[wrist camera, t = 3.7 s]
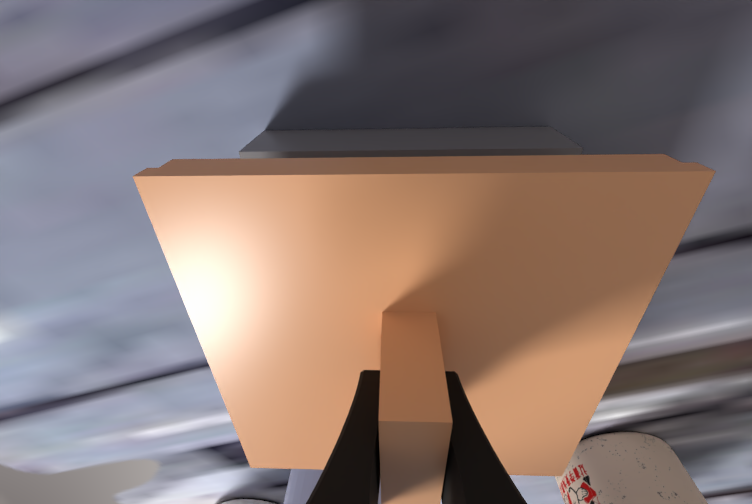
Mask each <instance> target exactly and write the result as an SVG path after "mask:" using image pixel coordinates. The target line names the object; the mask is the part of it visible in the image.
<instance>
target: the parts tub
mask: <svg viewBox="0 0 752 504" xmlns="http://www.w3.org/2000/svg"><path fill="white" fill-rule="evenodd" d="M582 150H583V148H582V147H581V146H579V145H578V144H576V143H575V142H573V141H572V140H570V139H569V138H567V137H566V136H564V135H563V134H561V133H560V132H558V131H557V130H555V129H553V128H552V127H481V128H410V129H339V130H268V131H263V132H262V133H261V134H260V135H258V136H257V137H256V138H255V139H254V140H252V141H251V142H250V143H249V144H248V145H246V146H245V147H244V148H243V149H242V150H241V151H239V154H240V159H254V158H344V157H434V156H524V155H581V153H582Z"/></svg>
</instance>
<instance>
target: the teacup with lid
mask: <svg viewBox="0 0 752 504" xmlns="http://www.w3.org/2000/svg"><path fill="white" fill-rule="evenodd" d="M555 478H556V481H557V483H558V486H559V489H560V492H561V495H562V497H563V500H564V503H565V504H708V503H707V501H706V500H705V498H704V497H703V495H702V494H701V492H700V491H699V489H698V488H697V486H696V485H695V483H694V482H693V480H692V479H691V477H690V475H689V474H688V472H687V471H686V469H685V468H684V466H683V465H682V463H681V462H680V460H679V459H678V457H677V456H676V454H675V453H674V451H673V450H672V448H671V447H670V446H669V445H668V444H667V443H666V442H664V441H663V440H661V439H659V438H657V437H655V436H652V435H648V434H644V433H637V432H614V433H607V434H601V435H597V436H593V437H590V438H587V439H584V440H582V441H580V442H579V443H578V445H577V447H576V449H575V451H574V453H573V455H572V457H571V459H570V461H569V463H568V465H567V467H566V469H565V471H564V473H563V475H562V476H555Z"/></svg>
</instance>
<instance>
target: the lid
mask: <svg viewBox="0 0 752 504" xmlns="http://www.w3.org/2000/svg"><path fill="white" fill-rule="evenodd" d="M715 172H716V171H714V170H712V169H710V168H708V167H705V166H703V165H701V164H699V163H682V162H680V161H678V160H676V159H674V158H671V157H669V156H667V155H665V154H614V155H524V156H434V157H344V158H254V159H172V160H170V161H169V162H167V163H166V164H164V165H162V166H161V167H159V168H146V169H145V170H143V171H141V172H139V173H138V174H136V175H134V176H133V178H134V181H135V183H136V186H137V188H138V191H139V193H140V195H141V198H142V200H143V203H144V205H145V208H146V210H147V213H148V215H149V218H150V220H151V223H152V225H153V228H154V230H155V232H156V235H157V237H158V240H159V242H160V245H161V247H162V250H163V252H164V255H165V257H166V260H167V262H168V265H169V267H170V269H171V272H172V274H173V277H174V279H175V282H176V284H177V287H178V289H179V292H180V294H181V297H182V299H183V302H184V304H185V306H186V309H187V311H188V314H189V316H190V319H191V321H192V324H193V326H194V329H195V331H196V334H197V336H198V339H199V341H200V343H201V346H202V348H203V351H204V353H205V356H206V358H207V361H208V363H209V366H210V368H211V371H212V373H213V376H214V378H215V380H216V383H217V385H218V388H219V390H220V393H221V395H222V398H223V400H224V403H225V405H226V408H227V410H228V413H229V415H230V417H231V420H232V422H233V425H234V427H235V430H236V432H237V435H238V437H239V440H240V442H241V445H242V447H243V450H244V452H245V454H246V457H247V459H248V462H249V464H250V467H251V468H281V469H317V470H324V468H325V466H326V464H327V462H328V459H329V457H330V455H331V453H332V451H333V449H334V447H335V444H336V442H337V440H338V438H339V435H340V433H341V430H342V428H343V425H344V423H345V420H346V418H347V416H348V413H349V410H350V407H351V404H352V402H353V399H354V396H355V392H356V389H357V385H358V382H359V377H360V372H362V371H363V370H380V392H379V451H380V481H381V504H440V501H441V494H442V488H443V481H444V475H445V469H446V462H447V456H448V449H449V443H450V437H451V430H452V424H453V421H452V415H451V408H450V402H449V395H448V389H447V382H446V375H445V371H455V372H456V373H457V374H458V376H459V379H460V382H461V384H462V387H463V389H464V391H465V394H466V396H467V398H468V401H469V403H470V405H471V407H472V409H473V411H474V413H475V415H476V417H477V419H478V421H479V423H480V425H481V427H482V429H483V431H484V433H485V434H486V436H487V438H488V440H489V442H490V444H491V446H492V447H493V449H494V451H495V453H496V454H497V456H498V458H499V460H500V461H501V463H502V465H503V466H504V468H505V470H506V471H507V473H508V475H533V476H562V475H563V473H564V471H565V469H566V467H567V465H568V463H569V461H570V459H571V457H572V455H573V453H574V451H575V449H576V447H577V445H578V443H579V442H580V440H581V438H582V436H583V434H584V432H585V430H586V428H587V426H588V424H589V422H590V420H591V418H592V416H593V414H594V412H595V410H596V408H597V406H598V404H599V402H600V400H601V398H602V396H603V394H604V392H605V390H606V388H607V386H608V384H609V382H610V380H611V378H612V376H613V374H614V372H615V370H616V368H617V366H618V364H619V362H620V360H621V358H622V356H623V354H624V352H625V350H626V348H627V346H628V344H629V342H630V340H631V338H632V336H633V334H634V332H635V330H636V328H637V326H638V324H639V322H640V320H641V318H642V316H643V314H644V313H645V311H646V309H647V307H648V305H649V303H650V301H651V299H652V297H653V295H654V293H655V291H656V289H657V287H658V285H659V283H660V281H661V279H662V277H663V275H664V273H665V271H666V269H667V267H668V265H669V263H670V261H671V259H672V257H673V255H674V253H675V251H676V249H677V247H678V245H679V243H680V241H681V239H682V237H683V235H684V233H685V231H686V229H687V227H688V225H689V223H690V221H691V219H692V217H693V215H694V213H695V211H696V209H697V207H698V205H699V203H700V201H701V199H702V197H703V195H704V193H705V191H706V189H707V187H708V185H709V184H710V182H711V180H712V178H713V176H714V174H715Z"/></svg>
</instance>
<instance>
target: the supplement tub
mask: <svg viewBox="0 0 752 504" xmlns="http://www.w3.org/2000/svg"><path fill="white" fill-rule="evenodd" d="M221 504H275V503H271V502H267V501H262V500H254V499H236V500H230V501H226V502H223V503H221Z"/></svg>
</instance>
